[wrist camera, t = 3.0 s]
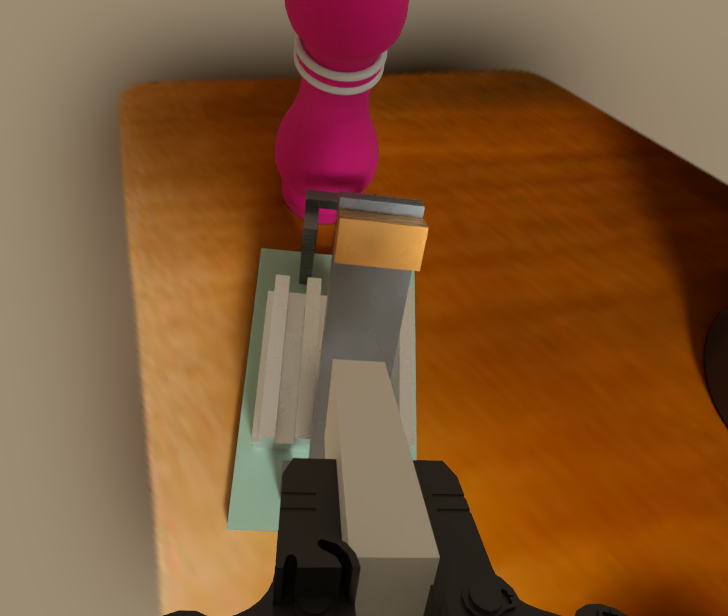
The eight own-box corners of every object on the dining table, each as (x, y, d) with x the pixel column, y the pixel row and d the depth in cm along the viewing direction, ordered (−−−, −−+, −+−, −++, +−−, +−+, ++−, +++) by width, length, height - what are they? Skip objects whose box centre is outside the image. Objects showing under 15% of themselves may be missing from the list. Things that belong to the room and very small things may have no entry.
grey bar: (364, 481, 25) (368, 518, 23) (305, 479, 25) (304, 516, 23) (419, 198, 18) (431, 216, 16) (338, 188, 18) (341, 206, 16)
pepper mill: (298, 244, 36) (316, -23, 18) (260, 167, 38) (241, -143, 20) (383, 213, 39) (476, -52, 20) (343, 143, 40) (395, -158, 22)
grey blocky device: (400, 503, 30) (441, 501, 22) (248, 498, 28) (236, 494, 21) (400, 268, 36) (433, 204, 28) (274, 255, 34) (273, 185, 27)
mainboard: (412, 533, 30) (417, 534, 29) (228, 529, 29) (226, 529, 28) (410, 270, 37) (414, 263, 36) (261, 255, 36) (261, 247, 34)
